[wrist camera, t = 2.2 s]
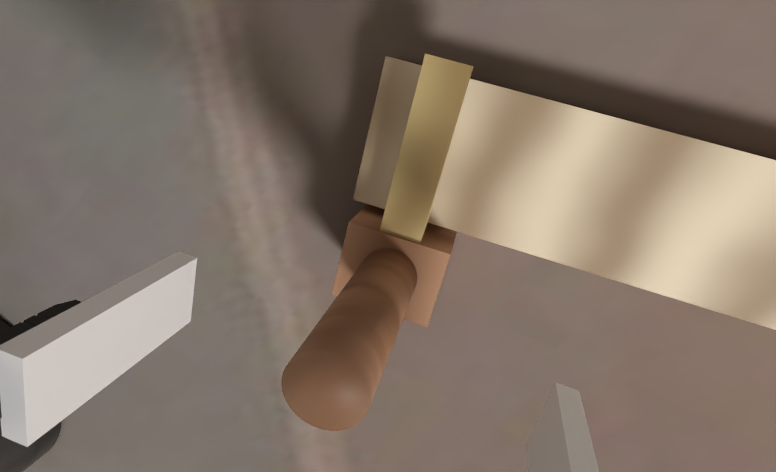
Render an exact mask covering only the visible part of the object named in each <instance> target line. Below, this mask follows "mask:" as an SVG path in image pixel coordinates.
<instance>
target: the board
mask: <svg viewBox="0 0 776 472" xmlns="http://www.w3.org/2000/svg"><path fill="white" fill-rule="evenodd" d="M421 68H422V65H418V64H414V63H411V62H407V61H403V60H399V59H396V58H391V57H387V56H386V57H385V61H384V66H383V70H382V74H381V79H380V83H379V87H378V92H377V96H376V100H375V105H374V109H373V114H372V118H371V122H370V127H369V131H368V135H367V140H366V144H365V148H364V153H363V157H362V162H361V166H360V170H359V175H358V179H357V183H356V188H355V192H354V196H353V200H356V201H360V202H363V203H366V204H369V205H373V206H376V207H379V208H382V209H385V207H386V204H387V200H388V196H389V192H390V188H391V184H392V180H393V176H394V173H395V169H396V165H397V161H398V157H399V153H400V149H401V145H402V141H403V138H404V134H405V130H406V126H407V122H408V118H409V114H410V110H411V107H412V103H413V99H414V95H415V91H416V87H417V83H418V79H419V76H420V72H421ZM428 223H431V224H434V225H437V226H441V227H444V228H447V229H450V230H454V231H457V232H460V233H463V234H467V235H470V236H473V237H476V238H480V239H483V240H486V241H489V242H493V243H496V244H499V245H502V246H506V247H509V248H512V249H515V250H518V251H522V252H525V253H528V254H531V255H535V256H538V257H541V258H544V259H548V260H551V261H554V262H557V263H561V264H564V265H567V266H570V267H574V268H577V269H580V270H583V271H587V272H590V273H593V274H596V275H600V276H603V277H606V278H609V279H613V280H616V281H619V282H622V283H625V284H629V285H632V286H635V287H638V288H642V289H645V290H648V291H651V292H655V293H658V294H661V295H664V296H668V297H671V298H674V299H677V300H681V301H684V302H687V303H690V304H694V305H697V306H700V307H703V308H707V309H710V310H713V311H716V312H720V313H723V314H726V315H729V316H732V317H736V318H739V319H742V320H745V321H749V322H752V323H755V324H758V325H762V326H765V327H768V328H771V329H775V330H776V160H774V159H770V158H766V157H763V156H759V155H755V154H751V153H748V152H744V151H740V150H736V149H733V148H729V147H725V146H721V145H718V144H714V143H710V142H706V141H703V140H699V139H695V138H691V137H688V136H684V135H680V134H676V133H673V132H669V131H665V130H661V129H658V128H654V127H650V126H646V125H643V124H639V123H635V122H631V121H628V120H624V119H620V118H617V117H613V116H609V115H605V114H602V113H598V112H594V111H590V110H587V109H583V108H579V107H575V106H572V105H568V104H564V103H560V102H557V101H553V100H549V99H545V98H542V97H538V96H534V95H530V94H527V93H523V92H519V91H515V90H512V89H508V88H504V87H500V86H497V85H493V84H489V83H485V82H482V81H478V80H474V79H470V80H469V83H468V87H467V90H466V94H465V97H464V100H463V104H462V107H461V110H460V114H459V117H458V121H457V124H456V127H455V131H454V134H453V137H452V141H451V144H450V148H449V151H448V154H447V158H446V161H445V164H444V168H443V171H442V175H441V178H440V181H439V185H438V188H437V191H436V195H435V198H434V202H433V205H432V208H431V212H430V215H429V218H428Z"/></svg>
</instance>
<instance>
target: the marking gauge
mask: <svg viewBox="0 0 776 472" xmlns="http://www.w3.org/2000/svg"><path fill="white" fill-rule="evenodd" d="M472 70H473V66H471V65H467V64H463V63H459V62H455V61H452V60H448V59H444V58H440V57H436V56H433V55H429V54H425V56H424V60H423V64H422V68H421V72H420V76H419V79H418V83H417V87H416V91H415V95H414V99H413V103H412V107H411V110H410V114H409V118H408V122H407V126H406V130H405V134H404V138H403V141H402V145H401V149H400V153H399V157H398V161H397V165H396V169H395V173H394V176H393V180H392V184H391V188H390V192H389V196H388V200H387V204H386V207H385V209H382V208H379V207H376V206H373V205H369V204H367V205H366V206H365V207H364V208H363V209H362V210H361V211H360V212H359V213H358V214H357V215H356V216H355V217H354V218H352V219H351V220H350V221H349V222H348V227H347V231H346V235H345V240H344V244H343V248H342V253H341V257H340V261H339V266H338V270H337V274H336V279H335V283H334V288H333V292H332V295H333V296H336V297H337V298H336V299H335V300H334V302H333V303H332V304H331V306H330V307H329V308H328V310H327V311H326V313H325V314H324V315H323V317H322V318H321V319H320V321H319V322H318V324H317V325H316V326H315V328H314V329H313V330H312V332H311V333H310V334H309V336H308V337H307V339H306V340H305V341H304V343H303V344H302V345H301V347H300V348H299V349H298V351H297V352H296V354H295V355H294V356H293V358H292V359H291V360H290V362H289V363H288V365H287V366H286V368H285V370H284V372H283V375H282V391H283V395H284V397H285V400H286V402H287V403H288V405H289V407H290V408H291V409H292V411H293V412H294V413H295V414H296V415H297V416H298V417H300V418H301V419H302V420H303V421H305V422H306V423H308V424H310V425H312V426H314V427H317V428H320V429H324V430H330V431H340V430H345V429H349V428H351V427H353V426H355V425H357V424H358V423H359V422H361V421H362V419H363V418H364V417H365V416H366V414H367V412H368V409H369V407H370V404H371V401H372V399H373V396H374V394H375V391H376V388H377V386H378V383H379V381H380V378H381V375H382V373H383V370H384V368H385V365H386V362H387V360H388V357H389V355H390V352H391V349H392V347H393V344H394V342H395V339H396V336H397V334H398V331H399V329H400V326H401V323H402V321H403V319H404V320H407V321H410V322H413V323H416V324H419V325H422V326H425V327H427V326H428V323H429V320H430V317H431V314H432V310H433V307H434V304H435V301H436V298H437V295H438V292H439V289H440V286H441V283H442V280H443V277H444V274H445V270H446V267H447V264H448V261H449V258H450V255H451V251H452V247H453V243H454V239H455V235H456V231H454V230H450V229H447V228H444V227H441V226H437V225H434V224H431V223H428V218H429V215H430V212H431V208H432V205H433V202H434V198H435V195H436V191H437V188H438V185H439V181H440V178H441V175H442V171H443V168H444V164H445V161H446V158H447V154H448V151H449V148H450V144H451V141H452V137H453V134H454V131H455V127H456V124H457V121H458V117H459V114H460V110H461V107H462V104H463V100H464V97H465V94H466V90H467V87H468V83H469V80H470V77H471V73H472Z"/></svg>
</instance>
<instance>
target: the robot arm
mask: <svg viewBox="0 0 776 472" xmlns="http://www.w3.org/2000/svg"><path fill="white" fill-rule="evenodd" d="M196 264H197V258H196V257H193V256H190V255H187V254H184V253H182V252H179V251H178V252H176V253H175V254H173V255H171V256H169V257H167V258H165V259H163V260H161V261H159V262H157V263H155V264H154V265H152V266H150V267H148V268H146V269H144V270H142V271H140V272H138V273H136V274H135V275H133V276H131V277H129V278H127V279H125V280H123V281H121V282H119V283H117V284H116V285H114V286H112V287H110V288H108V289H106V290H104V291H102V292H100V293H98V294H96V295H95V296H93V297H91V298H89V299H87V300H85V301H83V302H80V301H77V300H73V301H69V302H65V303H61V304H57V305H54V306H52V307H50V308H48V309H46V310H44V311H42V312H40V313H38V315H37V316H35V315H34V316H32V317H30V318H28V319H26V320H24V322H23V323H21V322H20V323H18V324H16V325H14V326H12V327H10V326H8V325H7V324H6V323H5V322H3V321H2V320H0V472H22V471H24V470H25V469H27V468H28V467H29V466H30V465H32V464H33V463H34V462H35V461H36V460H38V459H39V458H40V457H41V456H43V455H44V454H45V453H46V452H47V451H49V450H50V449H51V448H52V446H53V445H54V444H55V442H56V440H57V438H58V436H59V433H60V428H61V421H62V420H63V419H64V418H66V417H67V416H68V415H70V414H71V413H72V412H74V411H75V410H76V409H77V408H79V407H80V406H81V405H83V404H84V403H85V402H87V401H88V400H89V399H90V398H92V397H93V396H94V395H96V394H97V393H98V392H100V391H101V390H102V389H103V388H105V387H106V386H107V385H109V384H110V383H111V382H112V381H114V380H115V379H116V378H118V377H119V376H120V375H122V374H123V373H124V372H125V371H127V370H128V369H129V368H131V367H132V366H133V365H135V364H136V363H137V362H138V361H140V360H141V359H142V358H144V357H145V356H146V355H148V354H149V353H150V352H151V351H153V350H154V349H155V348H157V347H158V346H159V345H161V344H162V343H163V342H164V341H166V340H167V339H168V338H170V337H171V336H172V335H174V334H175V333H176V332H177V331H179V330H180V329H181V328H183V327H184V326H185V325H186V324H188V323H189V322H190V321H191V313H192V303H193V293H194V283H195V274H196ZM526 450H527V465H528V472H599V469H598V465H597V461H596V457H595V453H594V449H593V445H592V441H591V437H590V433H589V429H588V425H587V421H586V417H585V413H584V409H583V405H582V401H581V397H580V393H579V390H576V389H573V388H570V387H567V386H564V385H561V384H559V383H556V382H555V385H554V387H553V389H552V391H551V393H550V395H549V397H548V399H547V402H546V404H545V406H544V408H543V410H542V412H541V414H540V417H539V419H538V421H537V423H536V425H535V427H534V429H533V431H532V434H531V436H530V438H529V440H528V442H527V444H526Z"/></svg>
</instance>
